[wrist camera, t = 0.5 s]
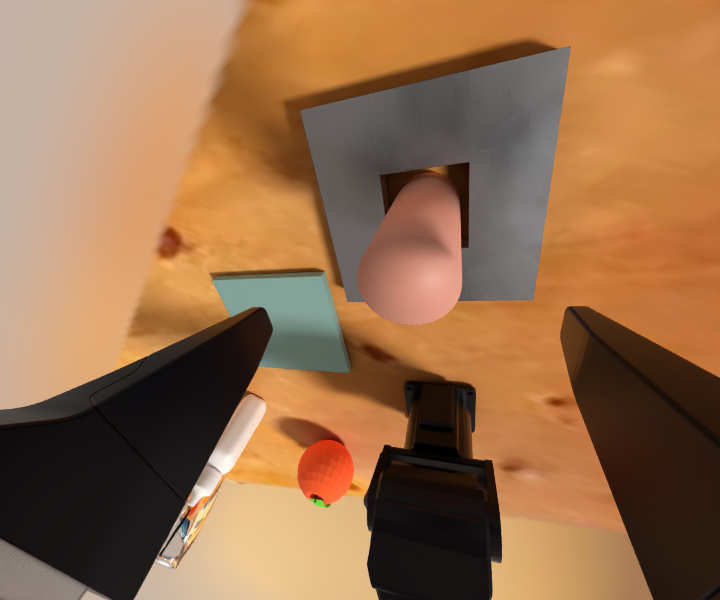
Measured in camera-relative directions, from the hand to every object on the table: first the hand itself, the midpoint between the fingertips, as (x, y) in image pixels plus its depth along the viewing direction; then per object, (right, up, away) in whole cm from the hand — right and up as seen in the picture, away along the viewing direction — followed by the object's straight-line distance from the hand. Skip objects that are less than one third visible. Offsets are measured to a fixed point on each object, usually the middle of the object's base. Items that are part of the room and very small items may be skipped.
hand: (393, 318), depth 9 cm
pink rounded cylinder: (+3, +7, +10) cm, 13 cm away
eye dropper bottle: (-15, -13, +31) cm, 37 cm away
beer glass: (-23, -23, +40) cm, 52 cm away
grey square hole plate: (+3, +7, +10) cm, 13 cm away
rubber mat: (-8, -2, +20) cm, 22 cm away
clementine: (-4, -19, +31) cm, 37 cm away
